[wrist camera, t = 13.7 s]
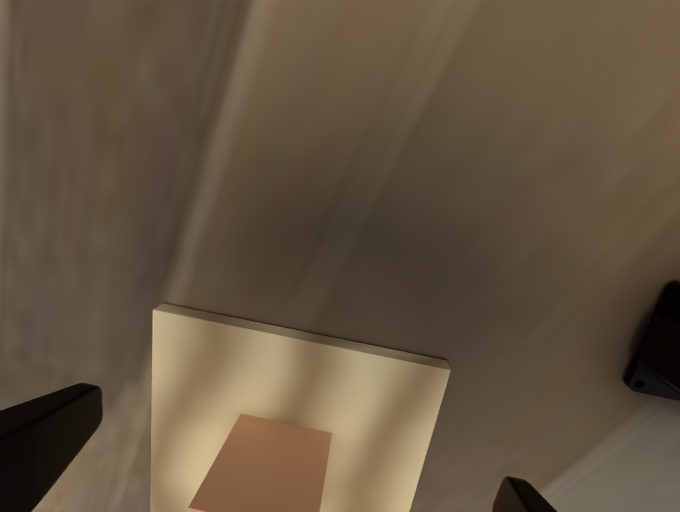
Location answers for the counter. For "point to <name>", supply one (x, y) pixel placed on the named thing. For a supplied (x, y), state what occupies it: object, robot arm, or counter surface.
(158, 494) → the post base
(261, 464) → the tan cardboard-like cube
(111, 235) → the counter surface
